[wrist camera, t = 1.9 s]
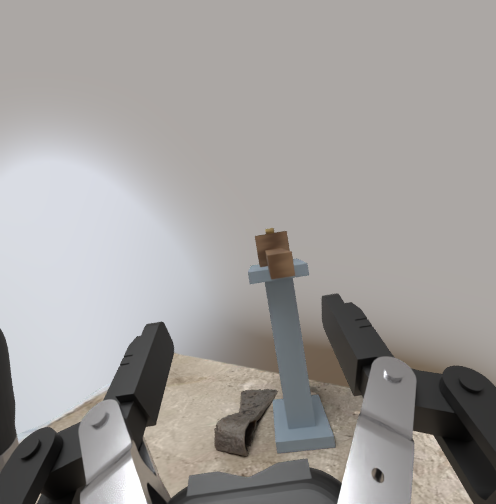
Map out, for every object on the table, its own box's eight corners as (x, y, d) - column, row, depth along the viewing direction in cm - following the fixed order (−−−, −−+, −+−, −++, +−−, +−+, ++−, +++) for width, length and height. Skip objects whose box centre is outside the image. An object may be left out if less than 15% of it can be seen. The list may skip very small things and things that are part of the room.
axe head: (243, 378, 63) (279, 379, 60) (245, 398, 62) (281, 401, 59) (201, 425, 44) (250, 431, 41) (203, 454, 43) (253, 464, 40)
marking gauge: (259, 281, 29) (250, 225, 29) (260, 264, 50) (254, 232, 50) (307, 274, 29) (298, 217, 29) (288, 260, 50) (282, 227, 50)
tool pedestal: (277, 453, 41) (248, 272, 40) (274, 408, 52) (250, 265, 51) (335, 447, 40) (307, 263, 39) (319, 403, 51) (297, 258, 50)
